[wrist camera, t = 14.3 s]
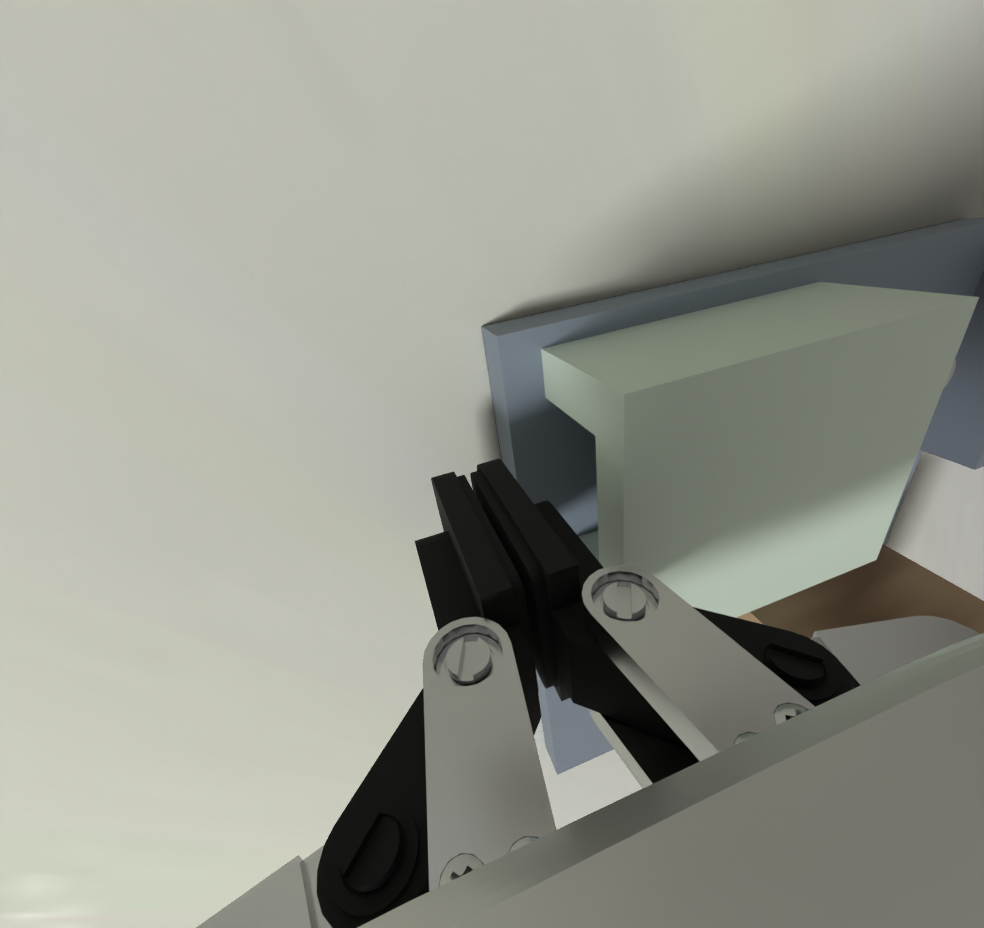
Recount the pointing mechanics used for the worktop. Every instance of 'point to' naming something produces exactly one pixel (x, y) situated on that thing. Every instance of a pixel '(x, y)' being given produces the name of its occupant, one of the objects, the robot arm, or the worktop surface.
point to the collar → (872, 599)
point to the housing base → (517, 343)
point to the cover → (758, 434)
